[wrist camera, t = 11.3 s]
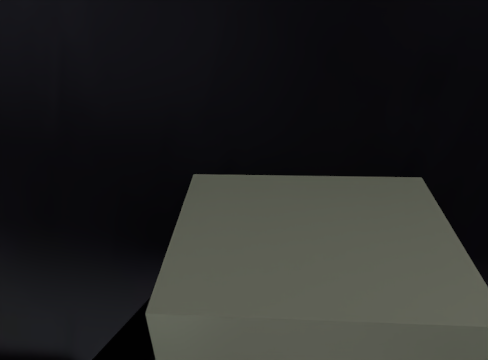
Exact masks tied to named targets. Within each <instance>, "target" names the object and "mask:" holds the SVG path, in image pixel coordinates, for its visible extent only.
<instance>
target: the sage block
mask: <svg viewBox="0 0 488 360" xmlns="http://www.w3.org/2000/svg"><path fill="white" fill-rule="evenodd" d="M145 315H146V319H147V324H148V328H149V333H150V337H151V342H152V346H153V351H154V355H155V359H156V360H488V287H487V285H486V283H485V282H484V280H483V278H482V277H481V275H480V273H479V272H478V270H477V269H476V267H475V265H474V264H473V262H472V260H471V259H470V257H469V255H468V254H467V252H466V250H465V249H464V247H463V245H462V244H461V242H460V240H459V239H458V237H457V235H456V234H455V232H454V230H453V229H452V227H451V225H450V224H449V222H448V220H447V219H446V217H445V215H444V214H443V212H442V210H441V209H440V207H439V205H438V204H437V202H436V200H435V199H434V197H433V195H432V194H431V192H430V190H429V189H428V187H427V186H426V184H425V182H424V181H423V179H422V177H356V176H283V175H211V174H193V177H192V180H191V183H190V186H189V189H188V192H187V195H186V197H185V200H184V203H183V206H182V209H181V212H180V215H179V218H178V220H177V223H176V226H175V229H174V232H173V235H172V238H171V241H170V243H169V246H168V249H167V252H166V255H165V258H164V261H163V264H162V267H161V269H160V272H159V275H158V278H157V281H156V284H155V287H154V290H153V292H152V295H151V298H150V301H149V304H148V307H147V310H146V313H145Z"/></svg>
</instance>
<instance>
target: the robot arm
mask: <svg viewBox="0 0 488 360" xmlns="http://www.w3.org/2000/svg"><path fill="white" fill-rule="evenodd" d="M150 298H151V297H150ZM150 298H149V299H148V300H147V301H146V303H145V304H144V305H143V306H142V307H141V308H140V309H139V310H138V311H137V312H136V313H135V314H134V315H133V316H132V318H131V319H130V320H129V321H128V322H127V323H126V324H125V325H124V326H123V327H122V328H121V329H120V330H119V331H118V333H117V334H116V335H115V336H114V337H113V338H112V339H111V340H110V341H109V342H108V343H107V344H106V345H105V347H104V348H103V349H102V350H101V351H100V352H99V353H98V354H97V355H96V356H95V357H94V358H93V359H92V360H156V359H155V355H154V351H153V346H152V342H151V337H150V333H149V328H148V324H147V319H146V315H145V313H146V310H147V307H148V304H149V301H150Z"/></svg>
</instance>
